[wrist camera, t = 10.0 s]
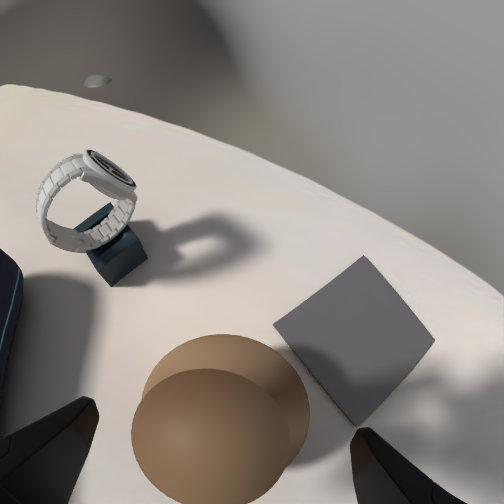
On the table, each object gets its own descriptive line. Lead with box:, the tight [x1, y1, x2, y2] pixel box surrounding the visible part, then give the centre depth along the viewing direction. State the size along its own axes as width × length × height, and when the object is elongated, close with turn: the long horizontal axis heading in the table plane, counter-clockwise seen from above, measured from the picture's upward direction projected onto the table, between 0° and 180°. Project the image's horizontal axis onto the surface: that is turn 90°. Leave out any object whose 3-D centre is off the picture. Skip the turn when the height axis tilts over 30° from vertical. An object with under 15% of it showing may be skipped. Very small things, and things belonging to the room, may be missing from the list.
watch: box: [36, 150, 148, 286], centre depth 20 cm, size 6×8×11 cm
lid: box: [131, 334, 310, 504], centre depth 10 cm, size 10×10×12 cm
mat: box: [273, 255, 434, 427], centre depth 22 cm, size 11×11×1 cm
